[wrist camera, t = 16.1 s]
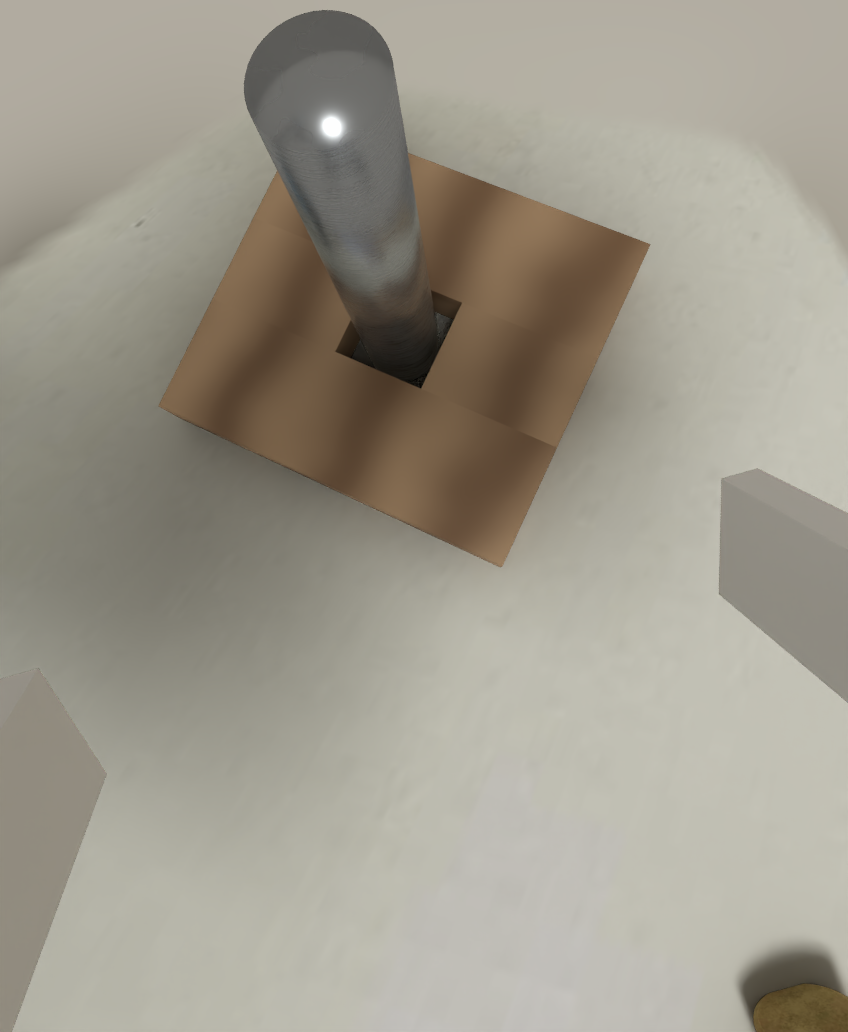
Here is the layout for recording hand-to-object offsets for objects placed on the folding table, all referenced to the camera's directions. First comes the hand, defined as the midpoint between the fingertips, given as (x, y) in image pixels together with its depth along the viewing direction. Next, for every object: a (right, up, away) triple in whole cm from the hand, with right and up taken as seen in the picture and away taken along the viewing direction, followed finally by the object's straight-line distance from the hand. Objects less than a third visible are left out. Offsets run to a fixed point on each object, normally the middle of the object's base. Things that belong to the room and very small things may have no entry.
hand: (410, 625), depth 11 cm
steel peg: (-1, +12, +22) cm, 25 cm away
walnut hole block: (-1, +12, +22) cm, 25 cm away
